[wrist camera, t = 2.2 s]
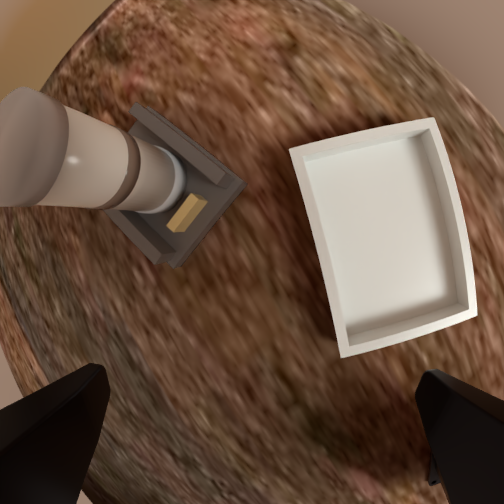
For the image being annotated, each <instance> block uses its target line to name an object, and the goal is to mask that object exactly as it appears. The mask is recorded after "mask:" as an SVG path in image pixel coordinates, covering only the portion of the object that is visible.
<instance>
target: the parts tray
mask: <svg viewBox="0 0 504 504" xmlns="http://www.w3.org/2000/svg"><path fill="white" fill-rule="evenodd" d="M289 152H290V156H291V159H292V162H293V165H294V169H295V172H296V176H297V179H298V182H299V186H300V189H301V193H302V196H303V200H304V204H305V207H306V211H307V215H308V218H309V222H310V226H311V229H312V233H313V237H314V241H315V245H316V249H317V253H318V257H319V261H320V265H321V269H322V273H323V277H324V282H325V286H326V290H327V295H328V299H329V303H330V308H331V312H332V317H333V322H334V326H335V331H336V336H337V341H338V346H339V351H340V356H341V358H344V357H348V356H352V355H356V354H360V353H364V352H368V351H372V350H375V349H379V348H383V347H386V346H390V345H393V344H396V343H400V342H403V341H406V340H410V339H413V338H416V337H419V336H422V335H425V334H428V333H431V332H434V331H437V330H440V329H443V328H446V327H448V326H451V325H454V324H456V323H459V322H462V321H464V320H467V319H470V318H472V317H475V316H477V303H476V291H475V281H474V273H473V265H472V258H471V252H470V246H469V240H468V234H467V229H466V224H465V219H464V215H463V210H462V206H461V202H460V198H459V194H458V190H457V186H456V182H455V179H454V175H453V172H452V168H451V165H450V162H449V158H448V155H447V152H446V149H445V146H444V143H443V140H442V138H441V135H440V132H439V129H438V127H437V124H436V121H435V119H434V117H433V118H426V119H420V120H414V121H409V122H403V123H398V124H393V125H387V126H382V127H378V128H373V129H368V130H363V131H359V132H354V133H350V134H346V135H341V136H337V137H333V138H329V139H325V140H321V141H317V142H313V143H309V144H305V145H301V146H298V147H294V148H290V149H289Z"/></svg>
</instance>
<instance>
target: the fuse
mask: <svg viewBox="0 0 504 504" xmlns="http://www.w3.org/2000/svg"><path fill="white" fill-rule="evenodd" d="M186 185H187V173H186V169H185V166H184V164H183V162H182V161H181V159H180V158H179V157H178V156H177V155H175V154H174V153H172V152H170V151H168V150H166V149H164V148H161V147H159V146H154V145H151V144H149V143H147V142H145V141H143V140H141V139H139V138H137V137H135V136H132V135H130V134H129V133H128V132H126V131H124V130H122V129H120V128H118V127H115V126H113V125H110V124H106V123H104V122H102V121H99V120H97V119H95V118H93V117H90V116H88V115H86V114H83V113H81V112H79V111H76V110H74V109H72V108H69V107H67V106H65V105H63V104H62V103H61V102H60V101H59V100H57V99H55V98H53V97H50V96H48V95H46V94H43V93H41V92H38V91H35V90H33V89H31V88H28V87H19V88H17V89H15V90H13V91H12V92H10V93H9V94H8V95H7V96H6V97H5V98H4V99H3V100H2V102H1V103H0V206H3V207H30V206H33V205H48V206H67V207H83V208H87V209H100V210H106V209H115V210H129V211H135V212H138V213H147V214H161V213H165V212H167V211H169V210H171V209H172V208H173V207H175V206H176V205H177V204H178V202H179V201H180V200H181V198H182V197H183V194H184V192H185V189H186Z"/></svg>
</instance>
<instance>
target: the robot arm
mask: <svg viewBox="0 0 504 504" xmlns="http://www.w3.org/2000/svg"><path fill="white" fill-rule="evenodd" d="M109 398H110V385H109V381H108V377H107V373H106V369H105V367H104V366H103V365H99V364H94V363H89V364H87V365H85V366H83V367H81V368H79V369H78V370H76V371H74V372H72V373H70V374H68V375H66V376H64V377H62V378H61V379H59V380H57V381H55V382H53V383H51V384H49V385H47V386H45V387H43V388H42V389H40V390H38V391H36V392H34V393H32V394H30V395H28V396H26V397H24V398H22V399H20V400H18V401H16V402H14V403H13V404H11V405H8V406H6V407H4V408H3V409H1V410H0V504H76V503H77V500H78V497H79V494H80V491H81V488H82V485H83V482H84V479H85V476H86V473H87V471H88V468H89V465H90V462H91V459H92V457H93V454H94V451H95V449H96V446H97V443H98V440H99V436H100V433H101V429H102V425H103V421H104V417H105V413H106V409H107V405H108V401H109ZM415 400H416V403H417V406H418V409H419V413H420V416H421V420H422V423H423V426H424V430H425V433H426V437H427V440H428V442H429V445H430V447H431V456H430V467H429V476H428V483H429V485H430V486H433V485H436V484H438V483H441V484H442V487H443V489H444V492H445V494H446V497H447V500H448V503H449V504H504V401H503V400H501V399H499V398H497V397H494V396H492V395H490V394H488V393H486V392H484V391H482V390H480V389H478V388H475V387H473V386H471V385H469V384H467V383H465V382H463V381H461V380H459V379H457V378H455V377H453V376H451V375H448V374H446V373H444V372H442V371H440V370H438V369H432V370H427V371H425V372H424V373H423V375H422V377H421V380H420V382H419V385H418V387H417V389H416V392H415Z"/></svg>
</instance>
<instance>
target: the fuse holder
mask: <svg viewBox="0 0 504 504" xmlns="http://www.w3.org/2000/svg"><path fill="white" fill-rule="evenodd" d="M128 112H129V113H130V114H132V115H133V116H134V117H135V118H137V119H138V120H137V121H136V122H135V123H134V125H133V126H132V127H131V129H130V130H129V132H128V133H129V134H130V135H132V136H135V137H137V138H139V139H141V140H143V141H145V142H147V143H149V144H151V145H154V146H159V147H161V148H164V149H166V150H168V151H170V152H172V153H174V154H175V155H177V156H178V157H179V158H180V159H181V161H182V162H183V164H184V166H185V169H186V173H187V185H186V189H185V192H184V194H183V197H182V198H181V200H180V201H179V202H178V204H177V205H176V206H175V207H173V208H172V209H171V210H169V211H167V212H165V213H161V214H147V213H138V212H135V211H129V210H115V209H106V210H103V211H104V212H105V213H106V214H107V215H108V216H109V217H110V219H111V220H112V221H113V222H114V223H115V224H116V225H117V226H118V227H119V228H120V229H121V230H122V232H123V233H124V234H125V235H126V236H127V237H128V238H129V239H130V240H131V241H132V242H133V243H134V244H135V245H136V246H137V247H138V248H139V249H140V250H141V251H142V252H143V254H144V255H145V256H146V257H147V258H148V259H149V260H150V261H151V262H152V263H153V264H154V265H156V264H160V263H164V262H167V263H168V264H169V265H170V266H171V267H172V268H173V269H174V268H177V267H180V266H182V264H183V263H184V262H185V260H186V259H187V258H188V257H189V255H190V254H191V253H192V252H193V250H194V249H195V248H196V246H197V245H198V244H199V243H200V241H201V240H202V239H203V238H204V236H205V235H206V234H207V233H208V231H209V230H210V229H211V228H212V227H213V225H214V224H215V223H216V222H217V220H218V219H219V218H220V217H221V215H222V214H223V213H224V212H225V211H226V209H227V208H228V207H229V206H230V205H231V203H232V202H233V201H234V200H235V199H236V197H237V196H238V195H239V194H240V193H241V191H242V190H243V189H244V188H245V187H246V185H247V183H246V182H245V181H243V180H242V179H241V178H240V177H238V176H237V175H236V174H235V173H234V172H232V171H231V170H230V169H229V168H228V167H226V166H225V165H224V164H223V163H221V162H220V161H219V160H218V159H216V158H215V157H214V156H213V155H212V154H210V153H209V152H208V151H207V150H205V149H204V148H203V147H202V146H200V145H199V144H198V143H196V142H195V141H194V140H193V139H191V138H190V137H189V136H188V135H186V134H185V133H184V132H182V131H181V130H180V129H179V128H177V127H176V126H175V125H173V124H172V123H171V122H170V121H168V120H167V119H166V118H164V117H163V116H162V115H160V114H159V113H158V112H156V111H155V110H154V109H152V108H151V107H149V106H148V107H147V108H145V107H143V106H142V105H140V104H138V103H137V102H135V104H134V105H133V106H132V108H131V109H130V110H129V111H128Z"/></svg>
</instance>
